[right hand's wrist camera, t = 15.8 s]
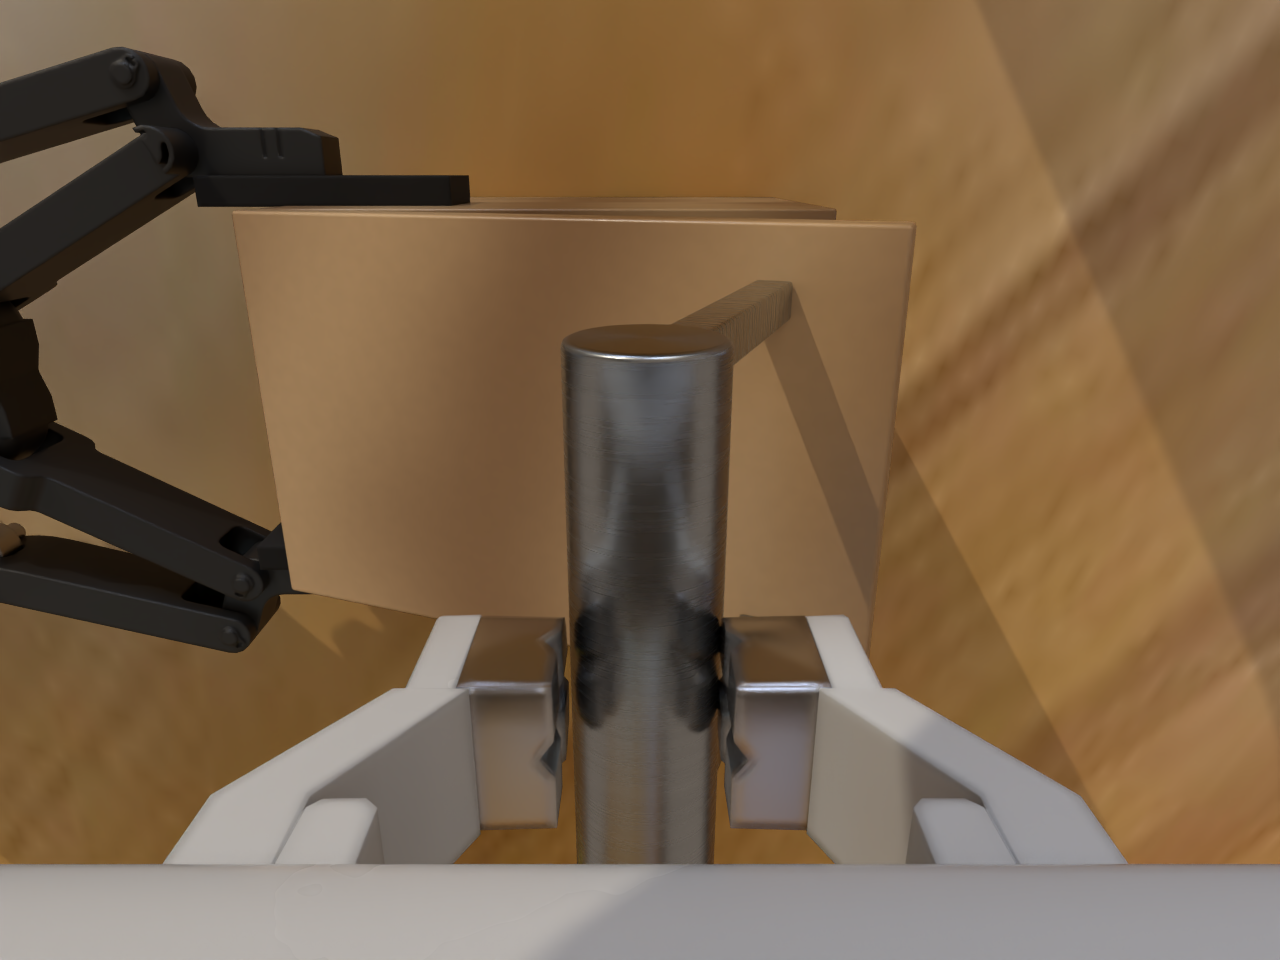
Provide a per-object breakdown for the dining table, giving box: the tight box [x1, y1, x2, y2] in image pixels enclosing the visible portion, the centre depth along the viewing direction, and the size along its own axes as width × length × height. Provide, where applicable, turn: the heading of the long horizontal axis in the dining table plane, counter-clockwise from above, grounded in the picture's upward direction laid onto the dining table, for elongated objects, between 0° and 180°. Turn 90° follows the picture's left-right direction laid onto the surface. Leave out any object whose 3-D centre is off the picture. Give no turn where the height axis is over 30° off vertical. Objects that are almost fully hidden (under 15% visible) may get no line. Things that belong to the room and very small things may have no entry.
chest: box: [261, 197, 836, 220], centre depth 26 cm, size 14×10×10 cm
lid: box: [232, 209, 917, 864], centre depth 15 cm, size 15×10×9 cm, turn 90°
